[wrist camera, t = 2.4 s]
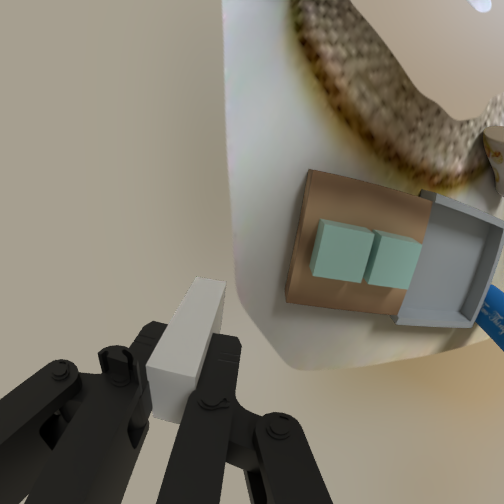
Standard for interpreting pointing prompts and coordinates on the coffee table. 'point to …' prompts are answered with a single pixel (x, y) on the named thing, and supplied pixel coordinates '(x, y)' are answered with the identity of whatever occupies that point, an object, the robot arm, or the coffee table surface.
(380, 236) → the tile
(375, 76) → the coffee table surface
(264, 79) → the coffee table surface
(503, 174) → the mug
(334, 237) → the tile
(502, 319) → the beverage can
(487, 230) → the tray
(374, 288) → the walnut board
